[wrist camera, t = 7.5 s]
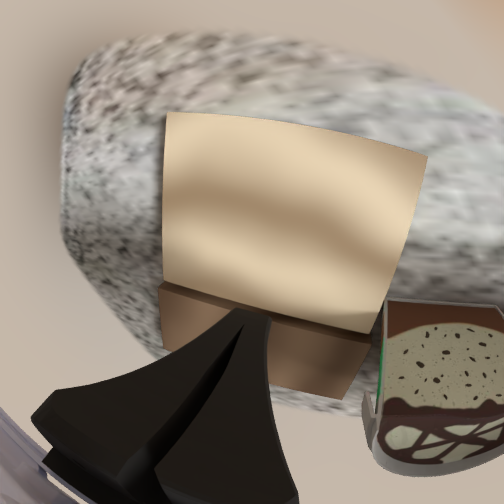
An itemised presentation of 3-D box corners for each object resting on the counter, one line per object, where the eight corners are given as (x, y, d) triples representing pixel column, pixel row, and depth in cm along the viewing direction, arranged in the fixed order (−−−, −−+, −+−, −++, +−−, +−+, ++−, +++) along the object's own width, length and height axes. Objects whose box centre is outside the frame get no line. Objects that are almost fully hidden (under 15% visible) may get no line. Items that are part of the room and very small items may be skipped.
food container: (346, 361, 20) (332, 481, 11) (361, 293, 18) (364, 430, 9) (480, 366, 17) (506, 465, 8) (510, 305, 14) (563, 406, 6)
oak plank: (368, 320, 18) (369, 334, 17) (173, 270, 21) (163, 280, 19) (420, 153, 13) (427, 156, 12) (180, 112, 16) (167, 112, 15)
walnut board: (370, 328, 18) (371, 344, 17) (343, 384, 21) (341, 399, 20) (169, 276, 21) (157, 287, 20) (172, 336, 24) (163, 348, 23)
